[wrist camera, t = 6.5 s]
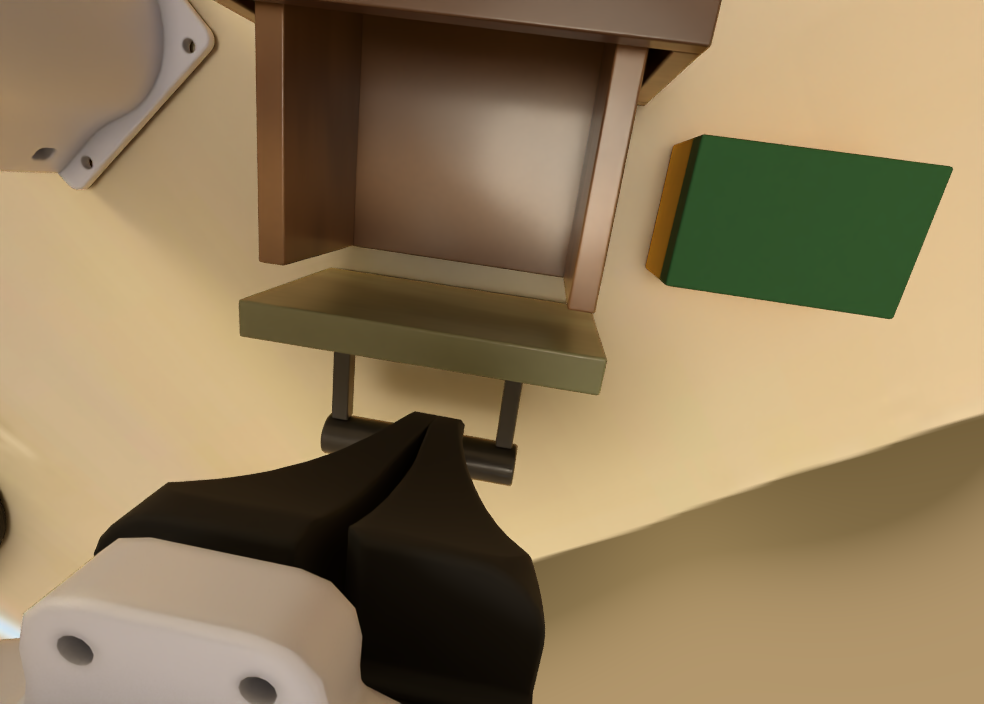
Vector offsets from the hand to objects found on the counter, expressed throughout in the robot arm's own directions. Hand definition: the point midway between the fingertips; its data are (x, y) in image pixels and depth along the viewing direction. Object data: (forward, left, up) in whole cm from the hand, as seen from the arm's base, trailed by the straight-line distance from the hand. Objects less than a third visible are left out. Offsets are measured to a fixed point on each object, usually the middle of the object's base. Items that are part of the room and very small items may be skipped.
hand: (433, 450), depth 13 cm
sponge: (+12, -2, -10) cm, 16 cm away
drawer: (+3, +4, -9) cm, 11 cm away
